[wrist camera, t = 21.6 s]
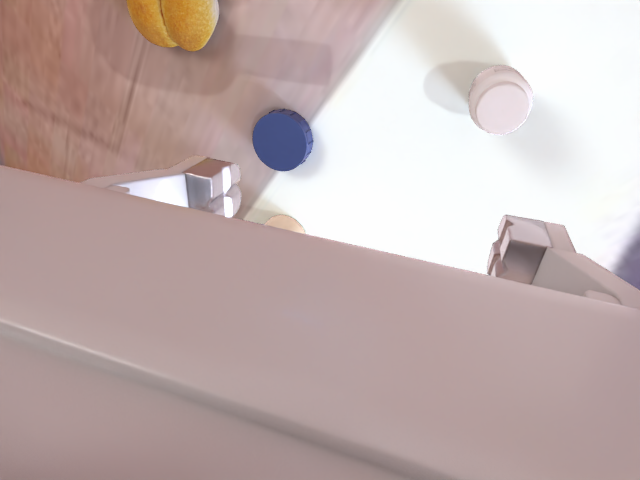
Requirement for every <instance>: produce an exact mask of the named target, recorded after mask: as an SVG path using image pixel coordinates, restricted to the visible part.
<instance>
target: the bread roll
mask: <svg viewBox="0 0 640 480" xmlns="http://www.w3.org/2000/svg"><path fill="white" fill-rule="evenodd" d="M126 1H127V6H128V12H129V14H130V17H131V19H132V21H133V23H134V25H135V26H136V28H137V29H138V31H139V32H140V33H141V34H142V35H143V36H144V37H145V38H146V39H147V40H148V41H150V42H151V43H153V44H156V45H158V46H161V47H175V46H180V47H181V48H183V49H185V50H188V51H197V50H199V49H201V48H203V47H204V46H205V45H206V43H207V42H208V40H209V39H210V37H211V35H212V34H213V31H214V29H215V27H216V24H217V21H218V18H219V4H218V0H126Z"/></svg>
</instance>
